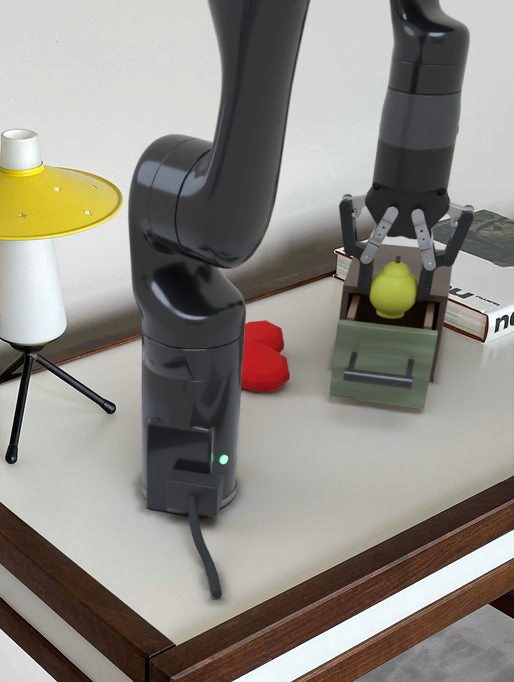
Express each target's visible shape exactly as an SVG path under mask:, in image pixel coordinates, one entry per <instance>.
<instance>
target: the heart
mask: <svg viewBox="0 0 514 682" xmlns="http://www.w3.org/2000/svg"><path fill="white" fill-rule="evenodd" d="M284 349H285V340H284V334H283V328H282V327H280V326H278V325H276V324H274V323H272V322H270V321H268V320H266V319H265V320H255V321H248V322H246V323H245V340H244V356H243V370H242V386H241V389H245V390H248V391H251V392H255V393H265V392H275V391H278V390H279V389H280V388H281V387H282V386H283V385H284V384H286V383H287V382H288V381H289V380H290V376H291V375H290V368H289V363H288V358H287V357H286V356H285V355H283V354H281V353H282V351H283V350H284Z"/></svg>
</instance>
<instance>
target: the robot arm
mask: <svg viewBox="0 0 514 682" xmlns="http://www.w3.org/2000/svg"><path fill="white" fill-rule="evenodd" d="M311 1H312V0H206V2H207V7H208V11H209V15H210V19H211V23H212V26H213V30H214V33H215V38H216V43H217V48H218V53H219V61H220V76H221V78H220V79H221V81H220V82H221V83H220V95H219V103H218V111H217V116H216V124H215V127H214V128H215V129H214V134H213V138H212V141H211V140H208V139H202V138H199V137H195V136H192V135H187V134H182V133H169V134H165V135H162V136H160V137H158V138H156V139H155V140H153V141H152V142H151V143H150V144H148V145H147V147H146V148H145V149H144V151H143V152H142V153H141V155H140V156H139V158H138V160H137V163H136V165H135V166H134V169H133V172H132V177H131V180H130V184H129V190H128V191H129V193H128V201H127V221H128V222H127V224H128V242H129V258H130V274H131V275H130V276H131V288H132V294H133V298H134V301H135V304H136V305H137V308H138V310H139V312H140V318H141V324H140V325H141V478H140V491H141V494H142V496H143V497H144V498H145V507H146V508H147V509H150V510H156V511H163V512H168V513H174V514H180V515H186V516H187V515H188V522H189V528H190V532H191V537H192V540H193V543H194V546H195V548H196V550H197V554H198V555H199V557H200V559H201V561H202V563H203V566H204V569H205V572H206V575H207V578H208V583H209V584H208V585H209V588H210V593H211V597H212V598H213V599H220V598H221V597H222V596H223V592H222V587H221V583H220V578H219V574H218V570H217V568H216V565H215V562H214V560H213V557H212V555H211V553H210V551H209V549H208V547H207V545H206V542H205V539H204V537H203V533H202V529H201V523H200V518H205V519H207V518H209V517H217V516H218V513H219V511H220V509H221V508H222V509H223V508H224V507H225V506H227V505H229V503H230V502H231V501H232V500H233V499H234V498H235V496H236V494H237V487H238V480H237V467H238V450H239V436H240V435H239V434H240V417H241V403H242V402H241V401H242V388H241V386H242V370H243V356H244V340H245V324H246V323H247V305H246V301H245V298H244V296H243V294H242V293H241V291H240V290H239V289H238V288H237V287H236V285H234V284H233V283H232V282H231V281H230V280H229V279H228V278H227V276H225V274H224V273H223V272H222V271H221V269H224V270H229V269H230V270H231V269H236V268H238V267H240V266H242V265H244V264H245V263H247V262H248V261H249V260H250V259H251V258H252V257H253V256H254V255H255V254H256V252H257V250H258V249H259V247H260V246H261V244H262V242H263V240H264V238H265V235H266V234H267V231H268V229H269V227H270V223H271V220H272V217H273V213H274V209H275V205H276V200H277V195H278V191H279V190H278V189H279V183H280V178H281V177H280V176H281V169H282V165H283V164H282V163H283V157H284V149H285V143H286V135H287V128H288V123H289V116H290V115H289V114H290V107H291V101H292V93H293V87H294V82H295V78H296V77H295V76H296V72H297V66H298V61H299V57H300V52H301V46H302V41H303V36H304V32H305V29H306V23H307V19H308V15H309V14H308V13H309V9H310V4H311ZM388 1H389V2H388V3H389V13H390V21H391V22H390V23H391V28H392V38H393V39H392V40H393V43H392V51H391V57H390V58H391V59H390V65H389V72H388V80H387V88H386V92H385V96H384V100H383V104H382V108H381V114H380V121H379V129H378V136H377V145H376V152H375V158H374V166H373V173H372V174H373V175H372V183H371V186H370V188H369V189H368V191H367V192H366V194H362V195H356V196H355V195H354V196H353V195H352V194H351V193H346V194H344V195H342V197H341V200H340V202H339V205H338V211H339V218H340V227H341V228H340V229H341V235H342V237H341V238H342V243H343V253H344V254H345V255H346V256H347V257H352V258H353V257H355V258H357V259H358V260H359V262H360V268H359V276H358V283H357V287H358V290H361V291H363V294H362V296H367V297H369V291H370V285H371V281H372V276H373V269H374V262H375V258H373V257H374V255H375V253H376V252H377V250H378V248H379V247H380V245H381V244H383V241H384V240H385V238H398V237H399V238H400V237H403V238H405V239H409V240H415V241H416V240H417V245H418V247H419V249H420V251H421V255H422V260H423V263H422V266H421V272H420V278H419V284H418V290H417V296H416V302H419V303H422V300H423V298H428V297H429V295H430V293H431V287H432V281H433V276H434V271H435V270H436V269H437V268H438V267H441V266H446V267H450V266H452V267H453V265H454V264H455V261H456V260H457V257H458V255H459V253H460V251H461V248H462V246H463V244H464V242H465V240H466V237H467V235H468V233H469V230H470V228H471V227H472V224H473V221H474V218H475V208H474V206H473V205H472V204H466V205H464V206H463V205H460V204H457V203H454V202H451V199H450V196H449V193H448V189H449V184H450V178H451V172H452V166H453V159H454V154H455V147H456V143H457V136H458V134H459V129H460V118H461V110H462V92H463V84H464V79H465V74H466V68H467V62H468V58H469V57H468V56H469V52H470V51H469V50H470V46H471V42H470V41H471V32H470V29H469V27H468V26H467V25H466V24H465V23H463V22H462V21H460V20H458V19H456V18H454V17H452V16H450V15H449V14H447V13H446V12H445V11H444V10H443V9H442V6H441V2H440V0H388ZM364 207H366V209H367V211H368V212H369V214H370V216H371V218H372V219H373V221H374V222H375V226H374V227H373V230H372V232H371V233H370V236H369V238H368V239H367V241H366V242H367V243H366V245H364V244H362V243H360V242H361V241H359V236H358V228H357V218H359V217H360V216H361V213H362V209H363V208H364ZM446 214H447V215H448V216H449V218H450V220H449V224H450V225H449V226H450V227H452V228H453V230H452V232H451V234H450V237H449V239H448V241H447V244H446V245H445V248H444V249H441V250H442V251H438V252H436V249H437V248H436V245H435V240H434V233H433V229H432V228H433V227H435V226H436V224H438V223H439V221H441V219H443V218H444V217H445V216H446Z"/></svg>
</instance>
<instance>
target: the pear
mask: <svg viewBox="0 0 514 682" xmlns="http://www.w3.org/2000/svg"><path fill="white" fill-rule="evenodd" d="M400 260H401V256H399V255H398V256H397V257H396V261H394V262H390V263H388V264H387V265H385V266H384V267H383V269H382V270H381V271H379V272H378V273H377V274H376V275H375V276H374V278H373V279H372V281H371V285H370V291H369V297H370V300H371V303H372V304H373V306H374V307H375V308H376V309H377V310H376V313H377V314H378V315H379V316H381V317H384V318H391V319H395V318H400V317H402V316H404V312H405V311H407V310H408V309H410V308H411V307H412V305H413V304H414V303H415V301H416V296H417V290H418V283H417V280H416V278H415V276H414V275H413V274H412V273H411V270H410V268H409V267H408V266H407V265H406V264H405V263H403V262H400Z"/></svg>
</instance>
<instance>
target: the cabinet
mask: <svg viewBox="0 0 514 682" xmlns="http://www.w3.org/2000/svg"><path fill="white" fill-rule="evenodd" d="M359 242H360V243H362V244H364V245H366V243H367V241H359ZM435 249H436V252H438V251H442V250H443V249H440V248H435ZM398 255H399V256H401V260H400V262H403V263H405V264H406V265H407V266H408V267H409V268H410V270H411V273H412V274H413V275H414V276H415V278H416V280H417V283H418V284H419V278H420V272H421V266H422V263H423V260H422V255H421V251H420V249H419V246H409V245H396V244H387V243H386V244H385V243H381V245H380V247H379V248H378V250H377V252H376V253H375V255H374V257H373V258H375V262H374V269H373V276H372V279H373V278H374V276H375V275H376V274H377V273H378V272H379V271H381V270H382V269H383V267H384V266H385V265H387V264H388V263H390V262H394V261H396V257H397V256H398ZM359 268H360V262H359V260H358V259H357V258H355V257H353V256H352V258H351V261H350V264H349V267H348V270H347V272H346V276H345V278H344V282H343V285H342V290H341V291H342V292H341V299H340V309H339V317H338V320H339V319H340V320H347V315H348V312H349V309H350V305H351V302H352V299H353V296H354V293H358V294H363V291H361V290H358V287H357V283H358V276H359ZM452 271H453V265H452V266H450V267H446V266H441V267H438V268H437V269H436V270H435V271H434V276H433V281H432V287H431V293H430V295H429V297H428V298H423V301H432V302H435V307H434V314H433V321H432V327H431V330H435V331H438V334H437V340H436V346H435V351H434V357H433V363H432V368H431V374H430V379H429V383H434V378H435V373H436V368H437V363H438V357H439V352H440V347H441V346H440V345H441V340H442V336H443V330H444V323H445V319H446V314H447V313H446V312H447V307H448V302H449V297H450V296H449V295H450V288H451V281H452Z"/></svg>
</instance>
